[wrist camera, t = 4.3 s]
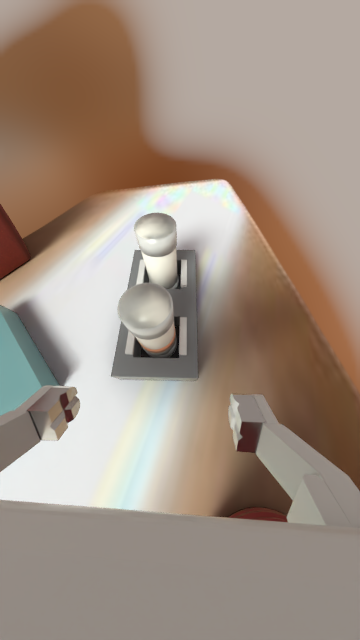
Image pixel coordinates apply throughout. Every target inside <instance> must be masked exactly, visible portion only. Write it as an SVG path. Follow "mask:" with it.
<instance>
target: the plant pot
mask: <svg viewBox="0 0 360 640" xmlns="http://www.w3.org/2000/svg"><path fill="white" fill-rule="evenodd" d="M29 259H30V253H29V251H28V249H27V247H26V245H25V243H24V242H23V240H22V238H21V236H20V235H19V233H18V231H17V230H16V228H15V226H14V225H13V223H12V221H11V220H10V218H9V217H8V215H7V214H6V212H5V211H4V209H3V207H2V206H1V204H0V279H1V278H2V277H4V276H5V275H7V274H8V273H10V272H11V271H13V270H14V269H16V268H17V267H19V266H20V265H22V264H23V263H25V262H26V261H28V260H29Z"/></svg>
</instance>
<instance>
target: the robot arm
mask: <svg viewBox="0 0 360 640" xmlns="http://www.w3.org/2000/svg"><path fill="white" fill-rule="evenodd" d="M76 394H77V390H76V388H75V387H68V386H50V385H46V386H43V387H42V388H40V389H39V390H38V391H37V392H36V393H35V394H33V395H32V396H31V397H30V398H29V399H28V400H26V401H25V402H24V403H23V404H22V405H21V406H19V407H18V408H17V409H16V410H15V411H10V412H7V413H5V414H3V415H1V416H0V472H1V471H2V470H4V469H5V468H6V467H7V466H9V465H10V464H11V463H13V462H14V461H15V460H17V459H18V458H19V457H21V456H22V455H23V454H24V453H26V452H27V451H28V450H30V449H31V448H32V447H34V446H35V445H36V444H38V443H39V442H40V440H51V441H58V440H59V439H60V437H61V436H62V435H63V433H64V432H65V431H66V429H67V428H68V423H69V422H70V421H72V420H73V419H74V418H75V417H76V415H77V414H78V411H79V408H80V401H79V399H78V398H77V397H76ZM230 402H231V405H230V406H229V410H228V416H229V423H230V427H231V428H232V429H233V440H234V444H235V448H236V451H240V452H251V453H256V455H257V456H258V458H259V459H260V460H261V461H262V463H263V464H264V465H265V466H266V468H267V469H268V470H269V471H270V473H271V474H272V475H273V476H274V478H275V479H276V480H277V481H278V483H279V484H280V485H281V486H282V488H283V489H284V490H285V491H286V493H287V494H288V495H289V496H290V498H291V499H292V500H293V502H292V505H291V507H290V510H289V512H288V515H287V517H286V518H287V520H288V522H276V521H264V520H251V519H238V518H226V517H213V516H200V515H188V514H175V513H162V512H150V511H137V510H124V509H112V508H99V507H86V506H73V505H61V504H48V503H35V502H22V501H10V500H0V640H360V491H359V490H358V488H357V487H356V485H355V484H354V483H353V481H352V480H351V479H350V477H349V476H348V475H347V474H345V473H344V472H343V471H341V470H340V469H339V468H338V467H336V466H335V465H334V464H333V463H331V462H330V461H329V460H327V459H326V458H325V457H324V456H322V455H321V454H320V453H319V452H317V451H316V450H315V449H313V448H312V447H311V446H310V445H308V444H307V443H306V442H305V441H303V440H302V439H301V438H300V437H298V436H297V435H296V434H294V433H293V432H292V431H291V430H289V429H288V428H287V427H286V426H284V425H283V424H279V423H278V421H277V419H276V417H275V415H274V414H273V412H272V410H271V408H270V406H269V405H268V403H267V401H266V399H265V397H264V396H263V395H262V394H232V393H231V395H230Z"/></svg>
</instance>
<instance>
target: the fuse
mask: <svg viewBox="0 0 360 640" xmlns="http://www.w3.org/2000/svg"><path fill="white" fill-rule="evenodd" d="M134 231H135V234H136V238H137V241H138V245H139V248H140V250H141V252H142V256H143V259H144V263H145V266H146V270H147V273H148V277H149V283H155V284H158V285H160V286H162V287H164V288H165V289H179V282H178V274H177V254H176V245H177V233H176V222H175V220H174V219H173V218H172V217H171V216H169V215H167V214H163V213H151V214H147V215H144V216H142V217H141V218H139V219H138V220H137V221H136V223H135V225H134Z"/></svg>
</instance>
